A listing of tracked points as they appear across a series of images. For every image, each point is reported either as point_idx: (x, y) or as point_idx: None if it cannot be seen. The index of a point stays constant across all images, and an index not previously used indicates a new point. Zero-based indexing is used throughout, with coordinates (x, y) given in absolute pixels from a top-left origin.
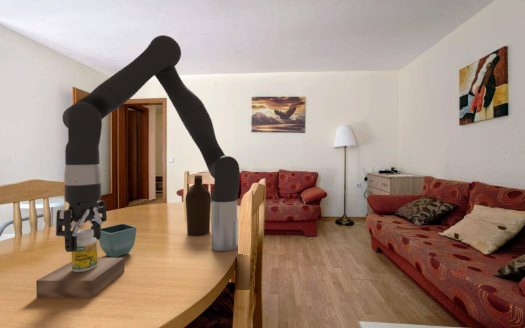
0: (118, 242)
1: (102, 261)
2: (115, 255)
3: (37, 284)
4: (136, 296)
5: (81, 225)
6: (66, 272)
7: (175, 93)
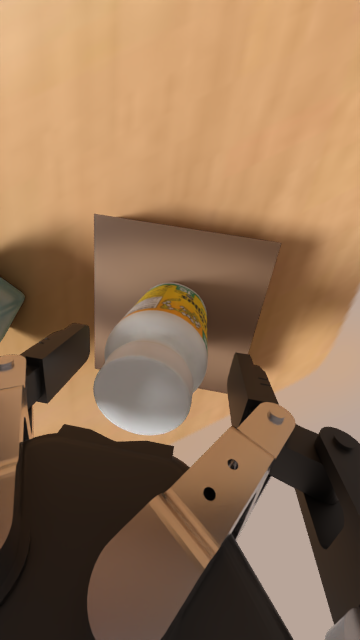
0: None
1: (126, 283)
2: (19, 292)
3: None
4: (299, 82)
5: (238, 434)
6: None
7: None
